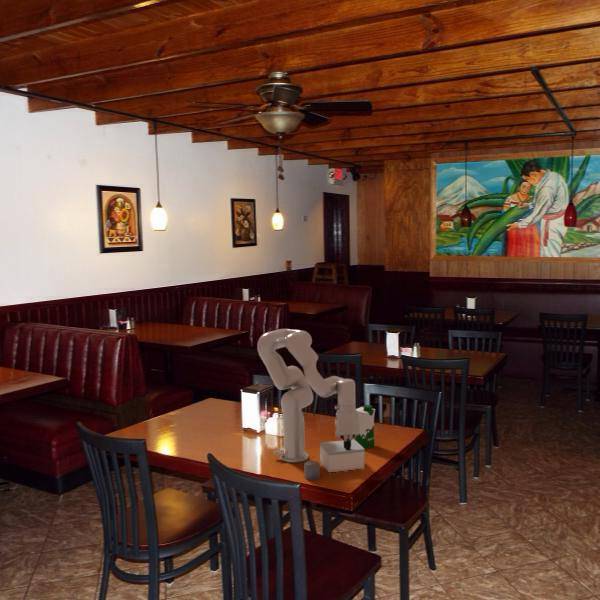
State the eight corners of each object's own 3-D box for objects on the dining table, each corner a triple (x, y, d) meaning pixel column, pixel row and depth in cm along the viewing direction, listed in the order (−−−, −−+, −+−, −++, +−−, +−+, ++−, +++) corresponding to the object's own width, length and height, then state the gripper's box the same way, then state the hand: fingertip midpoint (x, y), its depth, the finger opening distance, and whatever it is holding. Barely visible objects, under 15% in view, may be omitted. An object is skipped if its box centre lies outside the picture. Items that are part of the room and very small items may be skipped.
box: (328, 473, 262) (328, 455, 262) (320, 461, 276) (319, 444, 275) (364, 469, 266) (364, 451, 265) (354, 458, 280) (353, 441, 279)
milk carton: (367, 450, 289) (366, 409, 287) (351, 446, 295) (350, 406, 293) (377, 445, 296) (376, 404, 294) (361, 441, 302) (361, 401, 300)
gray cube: (306, 481, 255) (306, 467, 254) (302, 475, 261) (302, 461, 260) (321, 479, 256) (321, 465, 256) (317, 473, 262) (317, 460, 262)
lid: (328, 454, 261) (328, 452, 261) (319, 444, 275) (319, 442, 275) (364, 450, 265) (364, 449, 265) (354, 441, 279) (354, 439, 279)
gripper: (332, 411, 258) (333, 453, 260) (366, 408, 262) (366, 450, 264) (327, 407, 266) (328, 448, 267) (360, 404, 269) (360, 444, 271)
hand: (347, 449), depth 265 cm, fingers closed
